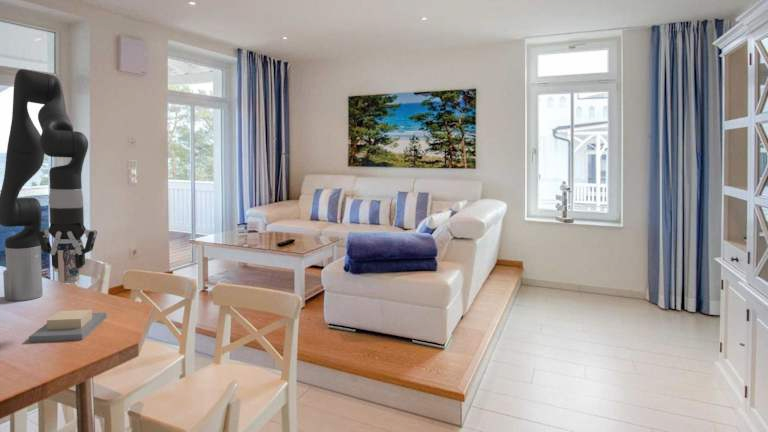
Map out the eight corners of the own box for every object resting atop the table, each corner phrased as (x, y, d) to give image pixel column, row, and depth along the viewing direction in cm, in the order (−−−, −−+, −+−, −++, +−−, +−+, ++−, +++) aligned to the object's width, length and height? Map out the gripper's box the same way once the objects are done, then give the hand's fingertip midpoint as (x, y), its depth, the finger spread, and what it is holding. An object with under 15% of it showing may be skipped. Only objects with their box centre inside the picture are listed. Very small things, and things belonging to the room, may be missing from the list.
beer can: (69, 284, 123) (67, 240, 121) (54, 282, 124) (52, 238, 122) (84, 280, 127) (82, 237, 126) (69, 278, 128) (68, 236, 127)
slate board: (29, 342, 117) (28, 327, 116) (60, 319, 134) (60, 305, 134) (82, 339, 120) (81, 324, 119) (106, 317, 137) (105, 304, 137)
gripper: (101, 205, 129) (102, 264, 131) (42, 204, 125) (45, 265, 127) (91, 207, 121) (93, 270, 123) (28, 206, 118) (31, 271, 120)
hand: (68, 267), depth 125 cm, fingers closed on beer can, 4 cm apart
